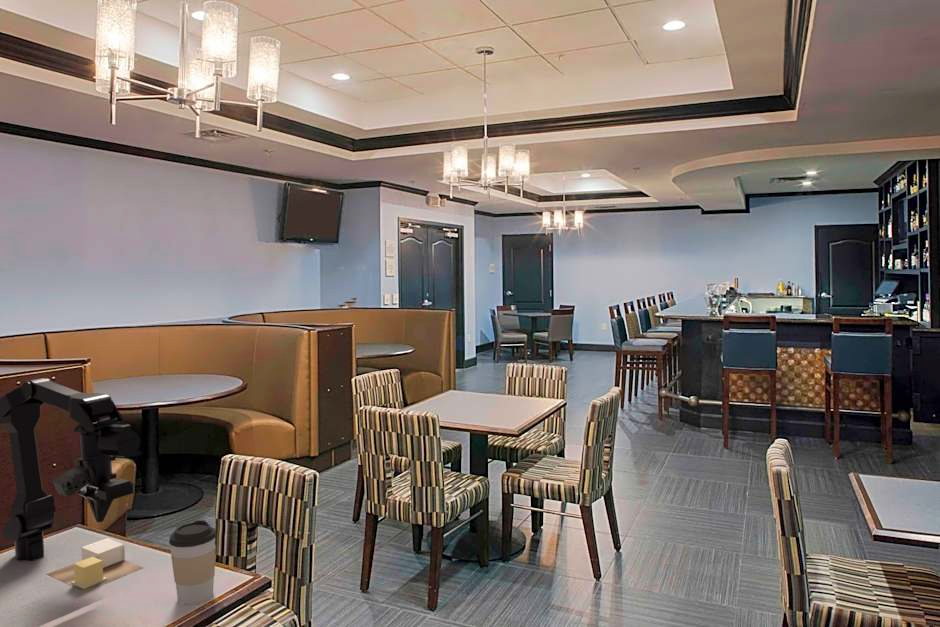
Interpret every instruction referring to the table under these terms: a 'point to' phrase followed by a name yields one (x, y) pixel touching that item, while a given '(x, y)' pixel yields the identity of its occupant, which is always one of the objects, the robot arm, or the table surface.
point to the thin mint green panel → (89, 584)
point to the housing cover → (104, 551)
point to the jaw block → (88, 571)
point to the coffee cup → (193, 561)
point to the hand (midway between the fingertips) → (100, 521)
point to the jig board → (109, 572)
